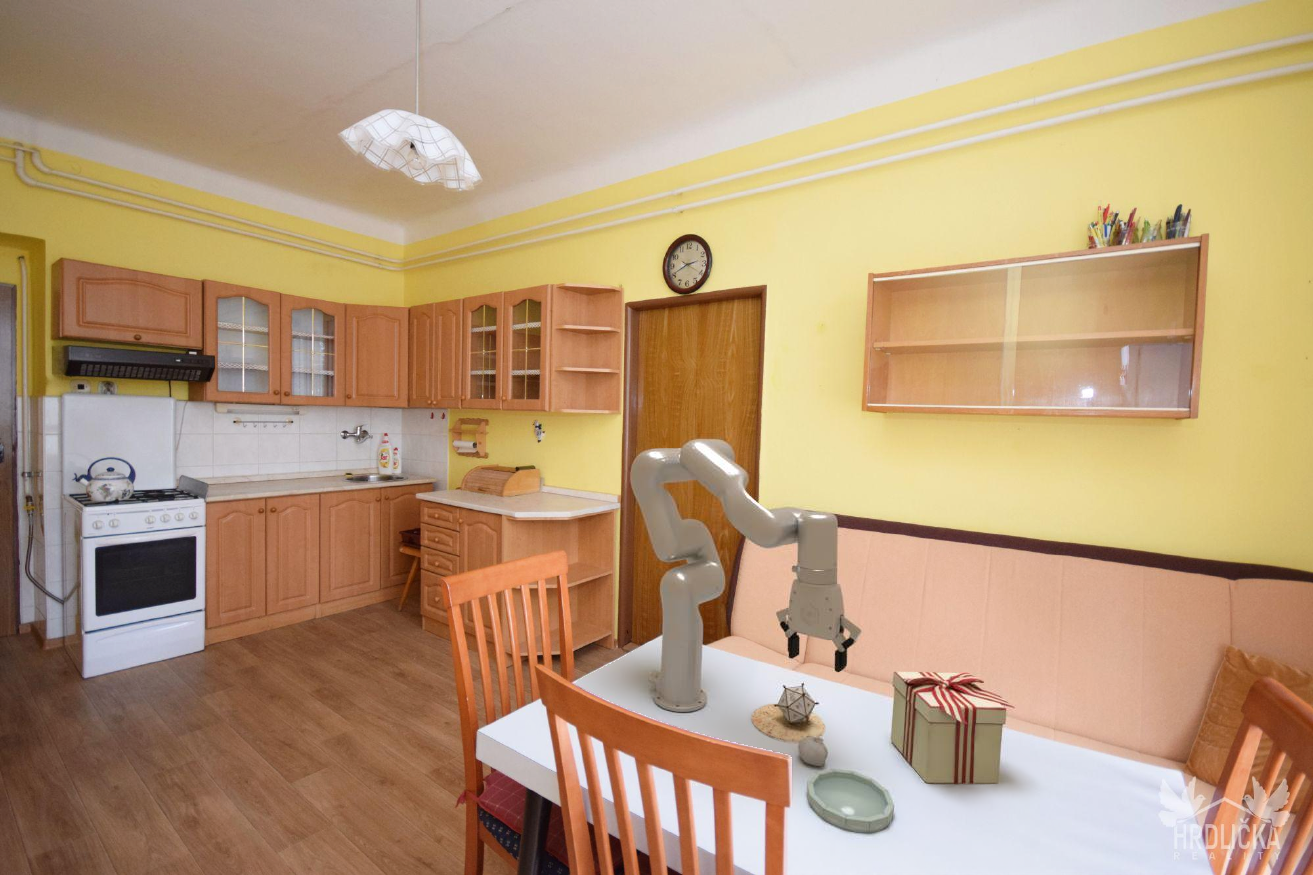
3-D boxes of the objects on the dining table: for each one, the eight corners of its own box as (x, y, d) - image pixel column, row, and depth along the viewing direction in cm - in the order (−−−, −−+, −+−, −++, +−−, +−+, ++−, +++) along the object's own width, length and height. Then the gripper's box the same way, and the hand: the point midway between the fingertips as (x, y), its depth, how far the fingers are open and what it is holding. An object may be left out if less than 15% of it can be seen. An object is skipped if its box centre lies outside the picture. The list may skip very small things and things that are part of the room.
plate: (794, 806, 99) (794, 795, 99) (825, 770, 110) (825, 759, 110) (877, 845, 91) (878, 833, 91) (902, 801, 102) (903, 790, 102)
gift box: (939, 798, 103) (944, 703, 103) (883, 741, 121) (887, 660, 121) (1024, 793, 106) (1029, 700, 105) (957, 738, 124) (961, 658, 123)
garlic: (833, 764, 112) (835, 737, 112) (818, 774, 109) (819, 747, 109) (807, 750, 117) (808, 724, 117) (791, 759, 113) (792, 733, 113)
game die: (802, 742, 127) (820, 720, 121) (766, 723, 128) (782, 701, 122) (809, 707, 134) (826, 684, 128) (774, 689, 135) (790, 666, 129)
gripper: (768, 571, 116) (767, 656, 116) (851, 586, 104) (851, 681, 104) (787, 565, 121) (786, 647, 121) (868, 579, 110) (867, 669, 110)
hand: (816, 663), depth 113 cm, fingers open, 9 cm apart
